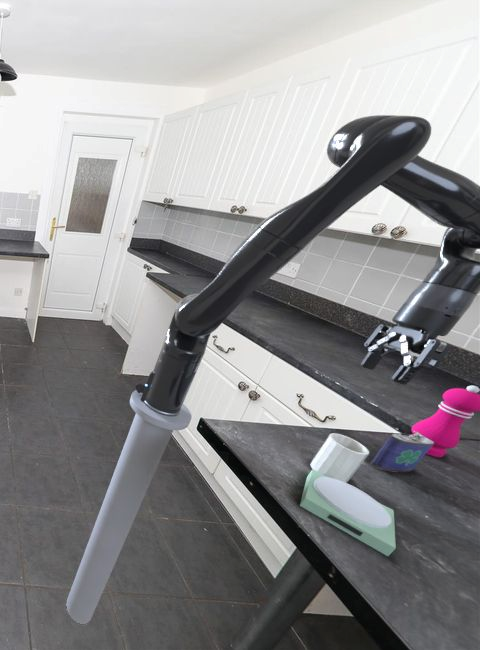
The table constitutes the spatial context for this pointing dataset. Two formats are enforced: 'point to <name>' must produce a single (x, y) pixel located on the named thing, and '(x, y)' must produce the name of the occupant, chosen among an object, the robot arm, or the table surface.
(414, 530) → the table surface
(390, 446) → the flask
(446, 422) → the pepper mill
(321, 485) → the scale
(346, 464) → the cup
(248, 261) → the robot arm
